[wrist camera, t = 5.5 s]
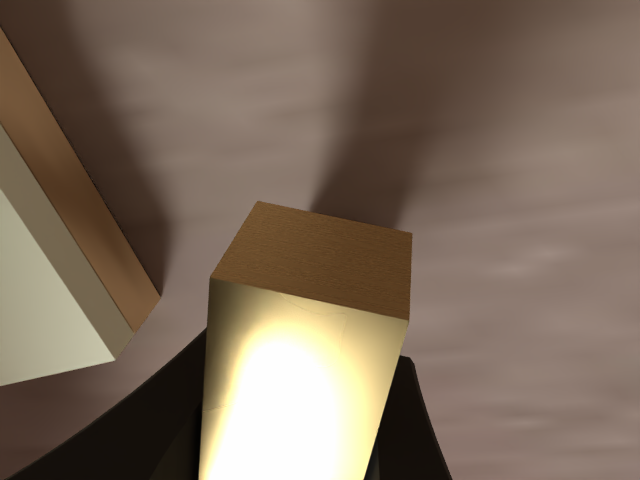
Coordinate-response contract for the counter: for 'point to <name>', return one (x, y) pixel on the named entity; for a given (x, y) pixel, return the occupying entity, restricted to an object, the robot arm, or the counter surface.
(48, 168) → the base
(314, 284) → the tan t-shaped block
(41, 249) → the cover
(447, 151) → the counter surface
